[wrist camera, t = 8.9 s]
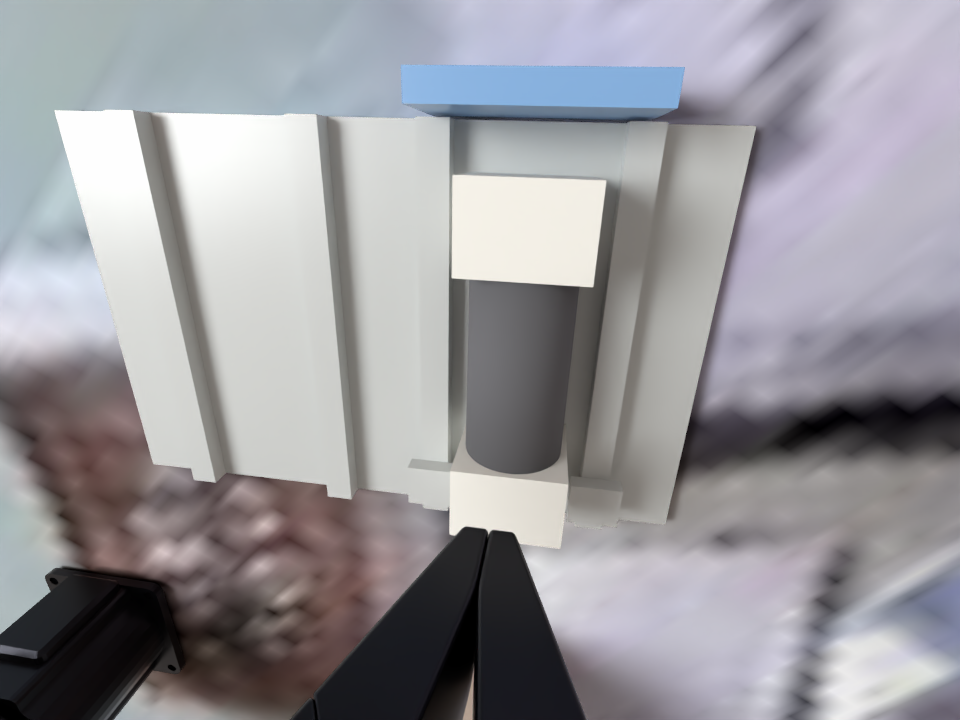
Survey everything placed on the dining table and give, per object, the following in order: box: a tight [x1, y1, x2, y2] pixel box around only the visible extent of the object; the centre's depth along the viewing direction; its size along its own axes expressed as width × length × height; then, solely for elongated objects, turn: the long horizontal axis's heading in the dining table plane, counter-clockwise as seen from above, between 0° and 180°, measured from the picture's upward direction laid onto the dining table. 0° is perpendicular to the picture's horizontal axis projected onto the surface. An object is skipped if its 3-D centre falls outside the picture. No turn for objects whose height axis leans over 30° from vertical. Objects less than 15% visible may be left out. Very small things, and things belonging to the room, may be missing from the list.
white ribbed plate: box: [54, 65, 756, 530], centre depth 16 cm, size 15×22×3 cm
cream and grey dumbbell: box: [450, 172, 606, 549], centre depth 15 cm, size 11×4×4 cm, turn 178°
